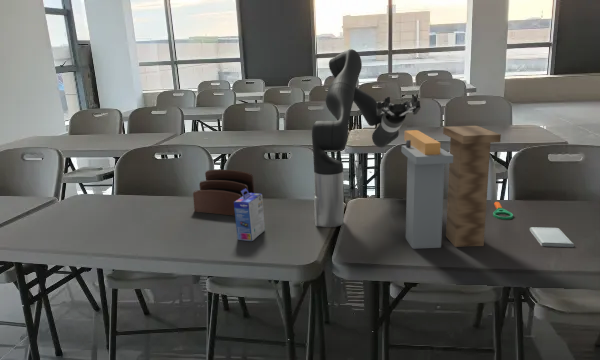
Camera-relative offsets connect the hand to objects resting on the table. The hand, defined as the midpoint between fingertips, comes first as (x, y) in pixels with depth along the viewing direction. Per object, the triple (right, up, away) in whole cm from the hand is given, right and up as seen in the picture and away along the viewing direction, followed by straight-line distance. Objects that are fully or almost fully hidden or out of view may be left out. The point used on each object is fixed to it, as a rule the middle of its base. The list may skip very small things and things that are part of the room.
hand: (402, 98), depth 159 cm
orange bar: (+1, -17, -21) cm, 27 cm away
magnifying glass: (+34, -38, +5) cm, 51 cm away
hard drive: (+39, -44, -18) cm, 61 cm away
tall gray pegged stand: (+2, -44, -19) cm, 48 cm away
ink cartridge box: (-48, -44, -8) cm, 66 cm away
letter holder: (-60, -38, +17) cm, 73 cm away
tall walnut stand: (+14, -44, -19) cm, 50 cm away
